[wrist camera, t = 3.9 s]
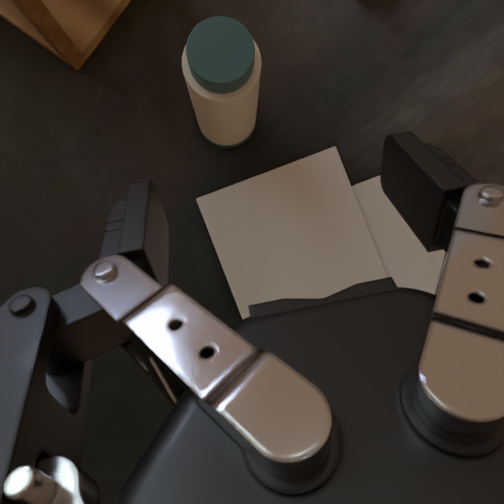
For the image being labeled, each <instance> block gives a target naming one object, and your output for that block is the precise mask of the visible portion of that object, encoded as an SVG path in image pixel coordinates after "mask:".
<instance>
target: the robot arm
mask: <svg viewBox="0 0 504 504" xmlns="http://www.w3.org/2000/svg"><path fill="white" fill-rule="evenodd" d="M380 181H381V187H382V190H383V192H384V194H385V195H386V196H387V198H388V199H389V200H390V202H391V203H392V204H393V206H394V207H395V208H396V210H397V211H398V213H399V214H400V215H401V217H402V218H403V219H404V221H405V222H406V223H407V225H408V226H409V227H410V229H411V230H412V231H413V233H414V234H415V235H416V237H417V238H418V240H419V241H420V242H421V244H422V245H423V246H424V248H425V249H426V250H427V252H433V251H438V250H444V251H445V252H446V253H445V256H444V259H443V263H442V267H441V270H440V274H439V278H438V282H437V285H436V289H435V293H434V294H432V293H429V292H426V291H422V290H418V289H413V288H405V287H397V285H396V284H395V282H394V280H393V278H392V277H388V278H383V279H378V280H373V281H368V282H363V283H358V284H355V285H352V286H350V287H348V288H346V289H343V290H341V291H339V292H337V293H334V294H332V295H330V296H327V297H325V298H319V299H315V298H283V299H278V300H273V301H268V302H263V303H258V304H253V305H248V308H249V314H250V316H249V317H247V318H245V319H243V320H241V321H239V322H238V323H236V324H235V325H233V326H232V327H231V328H230V327H228V326H227V325H226V324H224V323H223V322H222V321H221V320H219V319H218V318H217V317H215V316H214V315H213V314H211V313H210V312H209V311H208V310H206V309H205V308H204V307H202V306H201V305H200V304H198V303H197V302H196V301H195V300H193V299H192V298H191V297H189V296H188V295H187V294H185V293H184V292H183V291H181V290H180V289H179V288H178V287H176V286H175V285H173V284H171V283H168V258H169V229H168V224H167V220H166V216H165V214H164V211H163V208H162V205H161V202H160V199H159V197H158V194H157V191H156V188H155V186H154V183H153V182H152V181H151V180H150V181H145V182H140V183H134V184H130V185H129V187H128V193H127V199H126V200H124V201H119V202H117V203H116V204H115V205H114V207H113V208H112V209H111V210H110V212H109V214H108V219H107V224H106V228H105V233H104V237H103V241H102V246H101V250H100V255H99V259H98V260H96V261H94V262H93V263H91V264H90V265H89V266H88V267H87V268H86V269H85V270H84V271H83V273H82V275H81V279H80V283H79V284H78V285H76V286H74V287H72V288H69V289H67V290H65V291H62V292H60V293H58V294H55V295H53V296H51V294H50V293H49V292H48V290H46V289H45V288H42V287H32V288H27V289H24V290H22V291H19V292H17V293H15V294H14V295H12V296H11V297H9V298H8V299H7V300H6V301H5V302H4V303H3V304H2V305H1V306H0V504H100V494H99V489H98V486H97V484H96V482H95V481H94V479H93V478H91V477H90V476H89V475H88V474H86V473H85V472H84V471H83V470H82V469H80V468H81V459H82V451H83V442H84V434H85V425H86V417H87V408H88V400H89V391H90V383H91V374H92V365H93V358H95V357H97V356H99V355H101V354H103V353H105V352H107V351H109V350H111V349H113V348H115V347H117V346H119V345H120V346H121V347H122V348H123V349H124V350H125V351H126V352H127V353H128V354H129V355H130V356H131V358H132V359H133V360H134V361H135V362H136V363H137V364H138V365H139V366H140V367H141V368H142V369H143V370H144V371H145V373H146V374H147V375H148V376H149V377H150V378H151V379H152V380H153V381H154V382H155V384H156V385H157V386H158V387H159V389H160V390H161V391H162V393H163V394H164V395H165V397H166V398H167V399H168V400H169V401H170V403H171V404H172V405H173V406H174V408H173V409H172V411H171V412H170V414H169V415H168V417H167V418H166V420H165V422H164V423H163V425H162V426H161V428H160V429H159V431H158V432H157V434H156V435H155V437H154V438H153V440H152V441H151V443H150V445H149V446H148V448H147V449H146V451H145V452H144V454H143V455H142V457H141V458H140V460H139V461H138V463H137V465H136V466H135V468H134V469H133V471H132V472H131V474H130V475H129V477H128V478H127V480H126V481H125V483H124V485H123V486H122V488H121V490H120V492H119V494H118V496H117V498H116V501H115V503H114V504H504V186H502V185H499V184H494V183H479V182H478V181H477V180H475V179H474V178H473V177H472V176H471V175H470V174H469V173H468V172H466V171H465V170H464V169H463V168H462V167H461V166H460V165H457V163H456V162H455V161H454V160H453V159H452V158H450V156H449V155H447V154H446V153H445V152H444V151H443V150H442V149H441V148H438V147H436V146H434V145H431V144H429V143H423V142H422V141H421V140H420V139H419V138H418V137H417V136H416V135H414V134H413V133H412V132H411V131H408V132H403V133H397V134H392V135H388V136H387V137H386V138H385V141H384V148H383V157H382V165H381V174H380Z"/></svg>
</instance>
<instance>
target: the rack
mask: <svg viewBox="0 0 504 504" xmlns="http://www.w3.org/2000/svg"><path fill="white" fill-rule="evenodd" d="M130 2H131V0H0V17H2V18H3V19H5V20H6V21H7V22H9V23H10V24H12V25H13V26H14V27H16V28H17V29H19V30H20V31H21V32H23V33H24V34H26V35H27V36H28V37H30V38H31V39H33V40H34V41H36V42H37V43H38V44H40V45H41V46H43V47H44V48H45V49H47V50H48V51H50V52H51V53H52V54H54V55H55V56H57V57H58V58H59V59H61V60H62V61H64V62H65V63H66V64H68V65H69V66H71V67H72V68H73V69H75V70H76V71H79V69H80V68H81V67H82V65H83V64H84V63H85V61H86V60H87V59H88V57H89V56H90V55H91V53H92V52H93V51H94V50H95V48H96V47H97V46H98V44H99V43H100V42H101V40H102V39H103V38H104V36H105V35H106V34H107V32H108V31H109V30H110V28H111V27H112V26H113V24H114V23H115V22H116V20H117V19H118V18H119V16H120V15H121V14H122V12H123V11H124V10H125V8H126V7H127V6H128V4H129V3H130Z"/></svg>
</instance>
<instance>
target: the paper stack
mask: <svg viewBox="0 0 504 504" xmlns="http://www.w3.org/2000/svg"><path fill="white" fill-rule="evenodd" d="M196 200H197V203H198V205H199V208H200V211H201V213H202V216H203V218H204V221H205V224H206V226H207V229H208V231H209V234H210V237H211V239H212V242H213V244H214V247H215V249H216V252H217V255H218V257H219V260H220V262H221V265H222V268H223V270H224V273H225V275H226V278H227V280H228V283H229V286H230V288H231V291H232V293H233V296H234V299H235V301H236V304H237V306H238V309H239V311H240V314H241V317H242V319H245V318H247V317H249V316H250V314H249V308H248V305H253V304H258V303H263V302H268V301H273V300H278V299H283V298H315V299H319V298H325V297H327V296H330V295H332V294H334V293H337V292H339V291H341V290H343V289H346V288H348V287H350V286H352V285H355V284H358V283H363V282H368V281H373V280H378V279H383V278H388V277H392V278H393V280H394V282H395V284H396V285H397V287H405V288H413V289H418V290H422V291H426V292H429V293H432V294H434V293H435V289H436V285H437V282H438V278H439V274H440V270H441V267H442V263H443V259H444V256H445V253H446V252H445V251H444V250H438V251H433V252H427V250H426V249H425V248H424V246H423V245H422V244H421V242H420V241H419V240H418V238H417V237H416V235H415V234H414V233H413V231H412V230H411V229H410V227H409V226H408V225H407V223H406V222H405V221H404V219H403V218H402V217H401V215H400V214H399V213H398V211H397V210H396V208H395V207H394V206H393V204H392V203H391V202H390V200H389V199H388V198H387V196H386V195H385V194H384V192H383V190H382V187H381V181H380V175H379V176H377V177H374V178H372V179H369V180H366V181H364V182H361V183H359V184H356V185H353V186H351V184H350V182H349V179H348V177H347V174H346V172H345V169H344V166H343V164H342V161H341V159H340V156H339V154H338V151H337V149H336V146H335V147H332V148H329V149H327V150H324V151H321V152H319V153H316V154H313V155H311V156H308V157H305V158H303V159H300V160H297V161H295V162H292V163H289V164H287V165H284V166H281V167H279V168H276V169H274V170H271V171H268V172H266V173H263V174H260V175H258V176H255V177H252V178H250V179H247V180H244V181H242V182H239V183H236V184H234V185H231V186H228V187H226V188H223V189H220V190H218V191H215V192H212V193H210V194H207V195H205V196H202V197H199V198H197V199H196Z"/></svg>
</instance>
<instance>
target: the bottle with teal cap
mask: <svg viewBox="0 0 504 504" xmlns="http://www.w3.org/2000/svg"><path fill="white" fill-rule="evenodd" d="M182 70H183V74H184V77H185V81H186V84H187V87H188V91H189V94H190V97H191V101H192V104H193V107H194V111H195V114H196V117H197V122H198V126H199V129H200V132H201V134H202V135H203V137H204V138H205V139H206V140H207V141H208V142H209V143H211V144H212V145H214V146H216V147H219V148H224V149H230V148H235V147H238V146H240V145H242V144H244V143H245V142H246V141H247V140H248V139H249V138H250V137H251V135H252V134H253V132H254V129H255V125H256V112H257V103H258V93H259V84H260V75H261V55H260V51H259V49H258V46H257V44H256V43H255V41H254V40H253V38H252V36H251V34H250V32H249V31H248V30H247V28H246V27H245V26H244V25H243V24H241V23H240V22H239V21H237V20H235V19H233V18H230V17H225V16H215V17H210V18H207V19H205V20H203V21H201V22H200V23H199V24H197V25H196V26H195V27H194V29H193V30H192V31H191V33H190V35H189V37H188V40H187V44H186V46H185V48H184V51H183V55H182Z"/></svg>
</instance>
